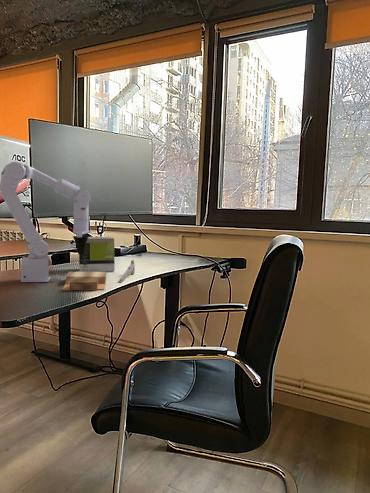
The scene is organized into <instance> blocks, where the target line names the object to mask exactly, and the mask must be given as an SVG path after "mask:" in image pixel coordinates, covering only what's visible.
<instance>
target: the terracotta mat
mask: <svg viewBox="0 0 370 493" xmlns="http://www.w3.org/2000/svg"><path fill="white" fill-rule="evenodd" d="M105 288H106V283H105V284H98V287H97V290H96V291H105ZM61 289H62V290H61V291H71V290H70V284H66V283H65V284H64V285H63V288H61Z"/></svg>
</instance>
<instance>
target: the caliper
mask: <svg viewBox="0 0 370 493" xmlns="http://www.w3.org/2000/svg"><path fill="white" fill-rule="evenodd" d="M135 268H136V265H135V260H134V259H132V260H131V261H130V264H129V265H128V267H127V269H126V270H125V272H123V274H122V275H121V276H120V278H119V279H118V280H119V281H118V284H121V283H123V282H124V281H125V279H127V277H128V275H132V276H133V275H135V272H136V271H135Z"/></svg>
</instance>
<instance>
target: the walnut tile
mask: <svg viewBox="0 0 370 493" xmlns="http://www.w3.org/2000/svg"><path fill="white" fill-rule="evenodd" d="M97 287H98V279H71V281H70V290H69V291H98V290H97Z"/></svg>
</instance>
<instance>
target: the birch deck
mask: <svg viewBox="0 0 370 493" xmlns="http://www.w3.org/2000/svg"><path fill="white" fill-rule="evenodd" d="M71 279H98V284H105V285H106V283H107V271H103V272H80V271H68V273H67V274H66V276H65V284H70V281H71Z"/></svg>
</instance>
